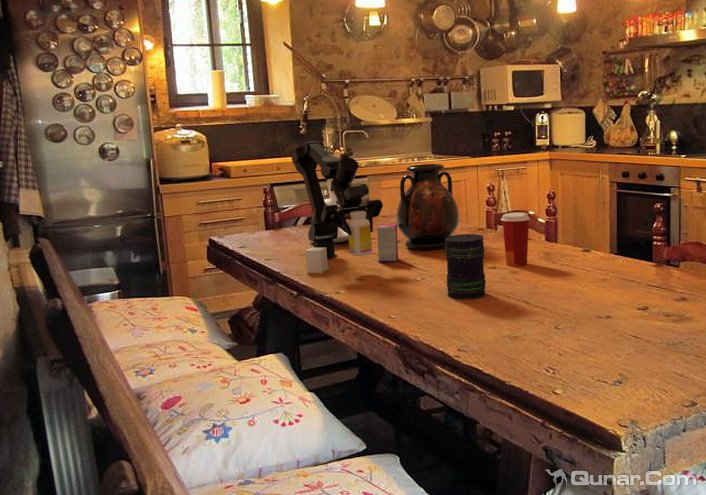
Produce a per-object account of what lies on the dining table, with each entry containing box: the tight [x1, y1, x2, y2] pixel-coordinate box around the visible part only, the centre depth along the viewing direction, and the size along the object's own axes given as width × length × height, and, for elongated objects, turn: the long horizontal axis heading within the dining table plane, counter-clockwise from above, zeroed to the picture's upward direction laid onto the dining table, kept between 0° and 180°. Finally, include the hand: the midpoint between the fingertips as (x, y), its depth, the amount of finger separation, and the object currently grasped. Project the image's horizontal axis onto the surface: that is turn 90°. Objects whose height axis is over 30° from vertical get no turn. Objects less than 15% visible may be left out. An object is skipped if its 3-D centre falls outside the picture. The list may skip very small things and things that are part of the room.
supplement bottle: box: [347, 211, 373, 257], centre depth 228 cm, size 7×7×13 cm
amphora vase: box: [396, 163, 460, 251], centre depth 262 cm, size 22×22×28 cm
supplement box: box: [376, 224, 399, 264], centre depth 244 cm, size 6×6×12 cm
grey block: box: [304, 247, 329, 274], centre depth 236 cm, size 5×5×7 cm
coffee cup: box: [500, 212, 530, 267], centre depth 226 cm, size 8×8×15 cm
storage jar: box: [444, 233, 486, 301], centre depth 194 cm, size 10×10×15 cm
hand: (361, 233), depth 226 cm, fingers closed on supplement bottle, 7 cm apart
